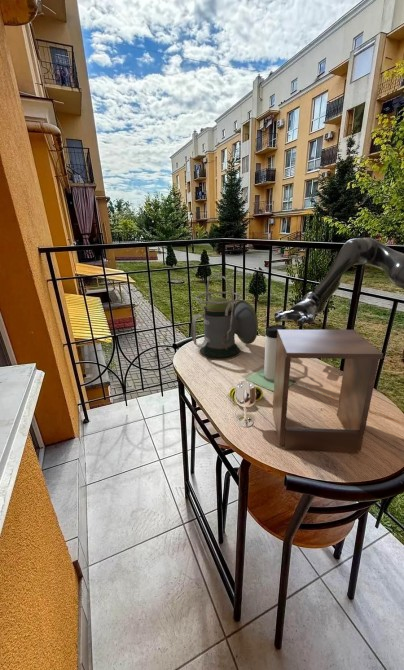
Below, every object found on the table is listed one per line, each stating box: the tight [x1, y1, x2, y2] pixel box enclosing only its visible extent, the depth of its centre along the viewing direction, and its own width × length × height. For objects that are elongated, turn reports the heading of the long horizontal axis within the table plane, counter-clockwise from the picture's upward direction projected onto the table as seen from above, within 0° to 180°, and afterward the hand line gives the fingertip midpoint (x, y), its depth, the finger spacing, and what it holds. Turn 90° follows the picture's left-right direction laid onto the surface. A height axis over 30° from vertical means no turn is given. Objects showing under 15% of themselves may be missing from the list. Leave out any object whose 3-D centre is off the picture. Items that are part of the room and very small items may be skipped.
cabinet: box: [272, 329, 384, 455], centre depth 71 cm, size 15×19×26 cm
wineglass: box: [235, 380, 257, 428], centre depth 78 cm, size 6×6×12 cm
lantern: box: [190, 273, 259, 361], centre depth 122 cm, size 25×29×35 cm
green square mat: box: [244, 367, 296, 393], centre depth 102 cm, size 14×14×1 cm
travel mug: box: [263, 324, 287, 382], centre depth 98 cm, size 6×7×20 cm
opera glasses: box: [228, 385, 264, 405], centre depth 89 cm, size 10×5×5 cm, turn 106°
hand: (287, 321), depth 103 cm, fingers open, 8 cm apart
